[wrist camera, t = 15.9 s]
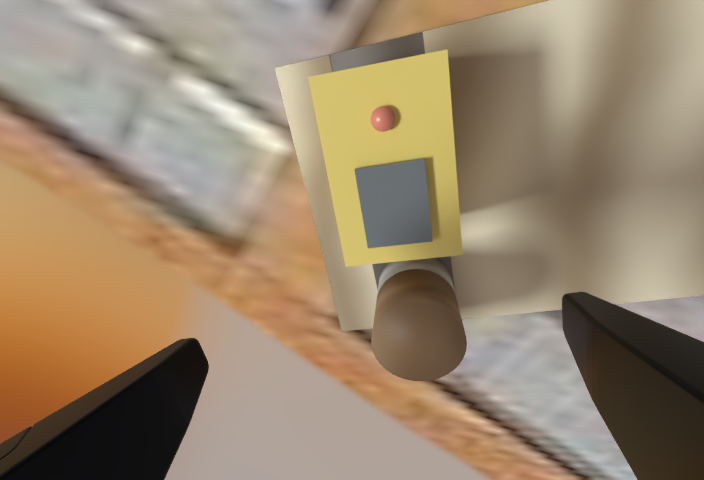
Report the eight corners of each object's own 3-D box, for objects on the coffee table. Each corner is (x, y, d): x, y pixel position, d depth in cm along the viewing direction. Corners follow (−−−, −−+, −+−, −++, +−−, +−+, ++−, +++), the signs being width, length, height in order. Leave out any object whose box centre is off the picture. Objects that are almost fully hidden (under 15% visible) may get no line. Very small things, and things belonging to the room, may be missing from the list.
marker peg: (452, 249, 19) (467, 302, 14) (452, 314, 20) (466, 381, 16) (376, 252, 19) (367, 304, 15) (381, 315, 21) (374, 380, 16)
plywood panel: (799, -59, 14) (821, -67, 13) (739, 282, 18) (753, 290, 18) (280, 69, 17) (274, 68, 17) (344, 323, 22) (342, 331, 22)
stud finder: (436, 58, 16) (448, 48, 11) (449, 216, 18) (463, 258, 14) (331, 79, 17) (305, 76, 12) (358, 227, 19) (344, 270, 15)
